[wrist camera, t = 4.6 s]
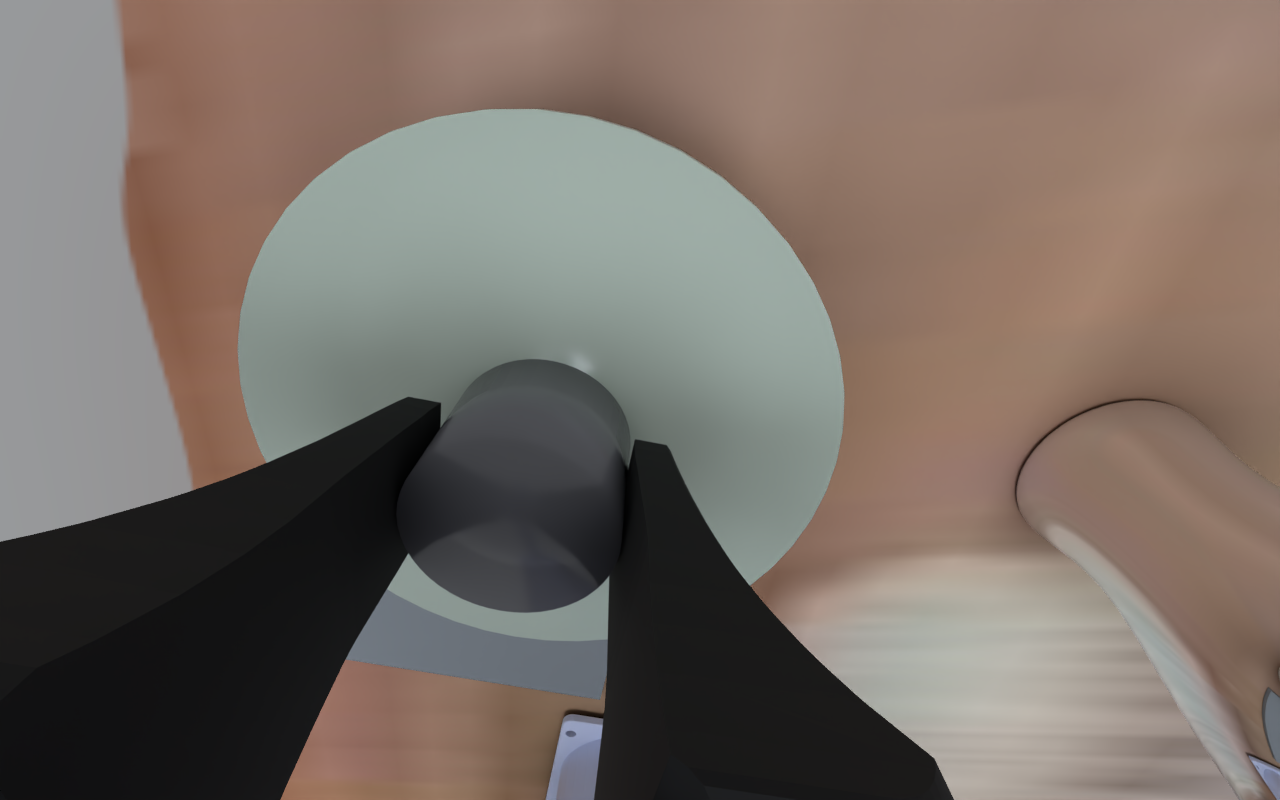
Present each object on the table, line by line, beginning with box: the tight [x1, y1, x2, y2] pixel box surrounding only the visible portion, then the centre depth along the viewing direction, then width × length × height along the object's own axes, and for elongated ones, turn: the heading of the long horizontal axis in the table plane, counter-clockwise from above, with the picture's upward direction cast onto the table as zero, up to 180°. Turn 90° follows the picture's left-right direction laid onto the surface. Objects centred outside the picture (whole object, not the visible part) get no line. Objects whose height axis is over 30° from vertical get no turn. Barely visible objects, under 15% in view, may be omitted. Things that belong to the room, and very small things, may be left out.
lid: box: [238, 109, 844, 641], centre depth 11 cm, size 12×12×3 cm
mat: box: [346, 589, 608, 700], centre depth 23 cm, size 13×13×1 cm
